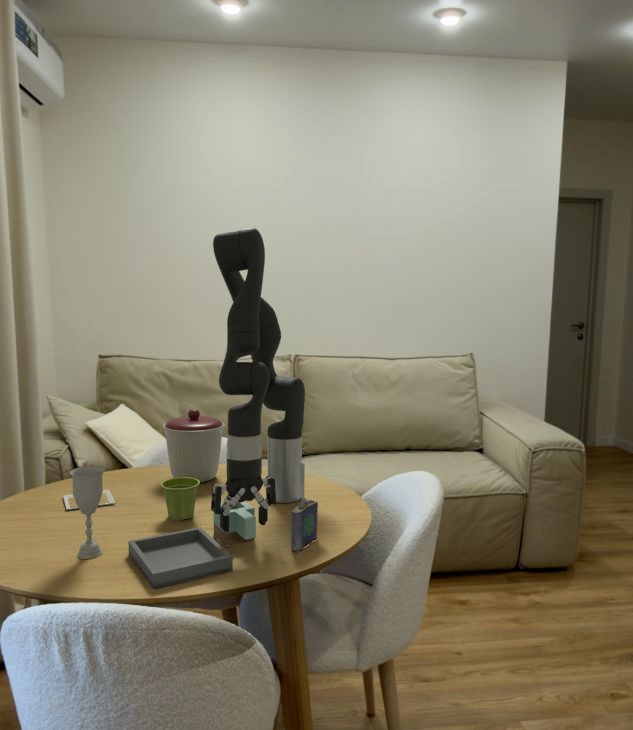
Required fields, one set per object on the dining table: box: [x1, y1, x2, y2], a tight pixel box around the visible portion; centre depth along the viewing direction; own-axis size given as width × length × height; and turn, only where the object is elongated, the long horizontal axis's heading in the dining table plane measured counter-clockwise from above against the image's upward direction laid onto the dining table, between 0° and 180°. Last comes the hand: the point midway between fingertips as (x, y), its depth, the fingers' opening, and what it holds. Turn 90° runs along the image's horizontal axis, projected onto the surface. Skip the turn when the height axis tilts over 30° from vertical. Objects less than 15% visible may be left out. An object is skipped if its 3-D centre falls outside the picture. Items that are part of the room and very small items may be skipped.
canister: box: [162, 408, 226, 483], centre depth 185 cm, size 18×18×21 cm
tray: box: [127, 526, 234, 590], centre depth 128 cm, size 16×18×3 cm
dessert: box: [62, 489, 116, 511], centre depth 165 cm, size 12×12×5 cm
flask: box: [290, 496, 319, 552], centre depth 138 cm, size 9×3×11 cm, turn 151°
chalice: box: [69, 465, 105, 560], centre depth 131 cm, size 7×7×18 cm
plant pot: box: [160, 477, 201, 522], centre depth 154 cm, size 9×9×9 cm
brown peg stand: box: [213, 499, 256, 547], centre depth 141 cm, size 7×7×9 cm
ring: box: [213, 501, 257, 540], centre depth 139 cm, size 7×12×4 cm, turn 31°
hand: (244, 527), depth 135 cm, fingers open, 8 cm apart
